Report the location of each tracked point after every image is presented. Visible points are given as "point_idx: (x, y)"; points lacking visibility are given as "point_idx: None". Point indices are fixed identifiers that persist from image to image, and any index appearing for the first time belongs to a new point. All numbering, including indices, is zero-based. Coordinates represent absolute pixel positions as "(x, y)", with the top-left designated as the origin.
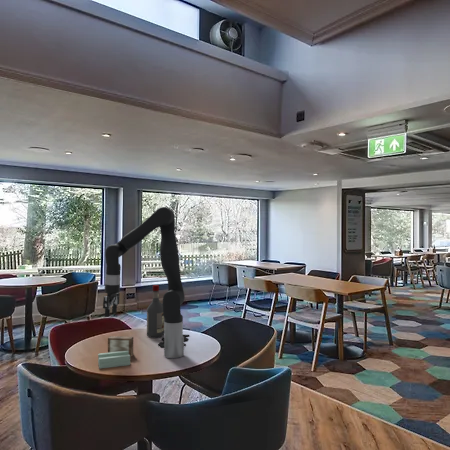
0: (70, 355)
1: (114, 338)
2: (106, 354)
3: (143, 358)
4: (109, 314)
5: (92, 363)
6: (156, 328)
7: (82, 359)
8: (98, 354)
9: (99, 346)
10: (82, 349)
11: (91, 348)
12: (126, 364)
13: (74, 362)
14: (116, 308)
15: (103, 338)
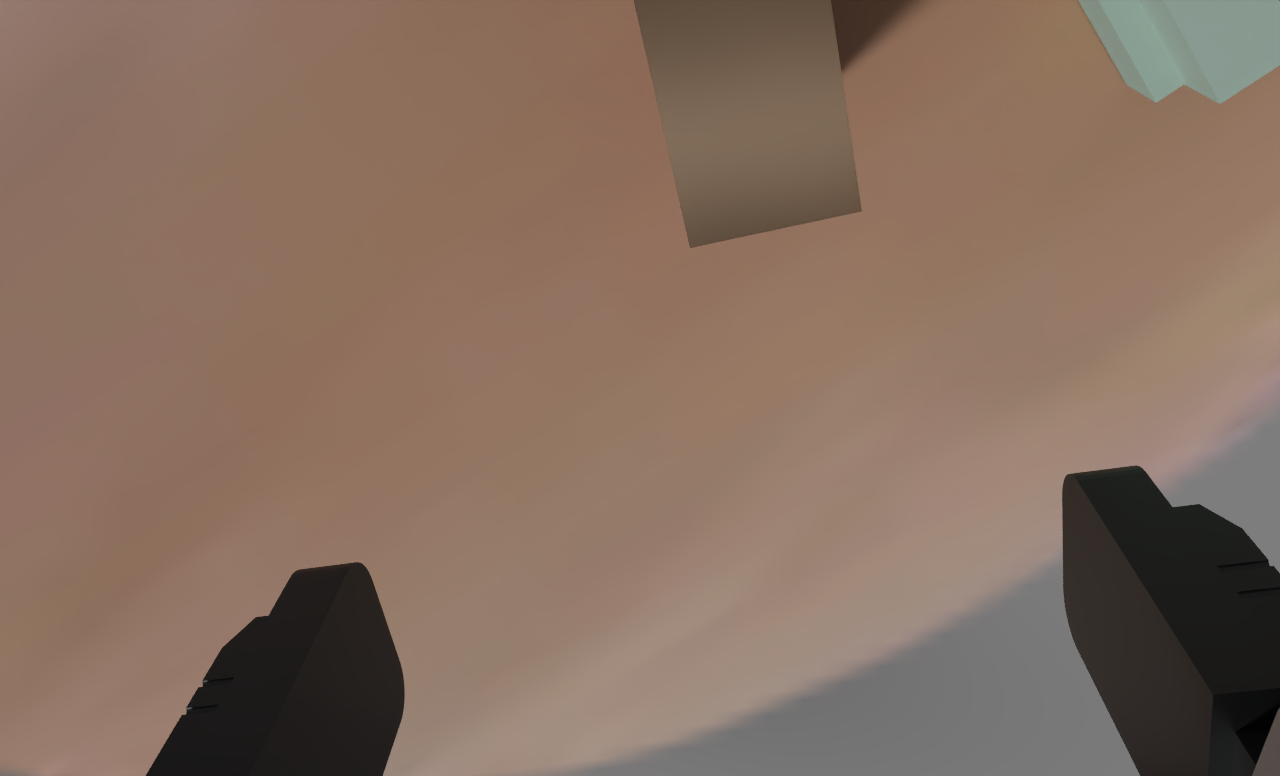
0: (923, 622)
1: (834, 37)
2: None
3: None
4: (1104, 513)
5: (1231, 119)
6: None
7: (1060, 382)
8: (1277, 64)
9: (427, 504)
10: (642, 631)
11: (557, 552)
12: None
13: (1205, 408)
14: (260, 700)
15: (77, 660)
